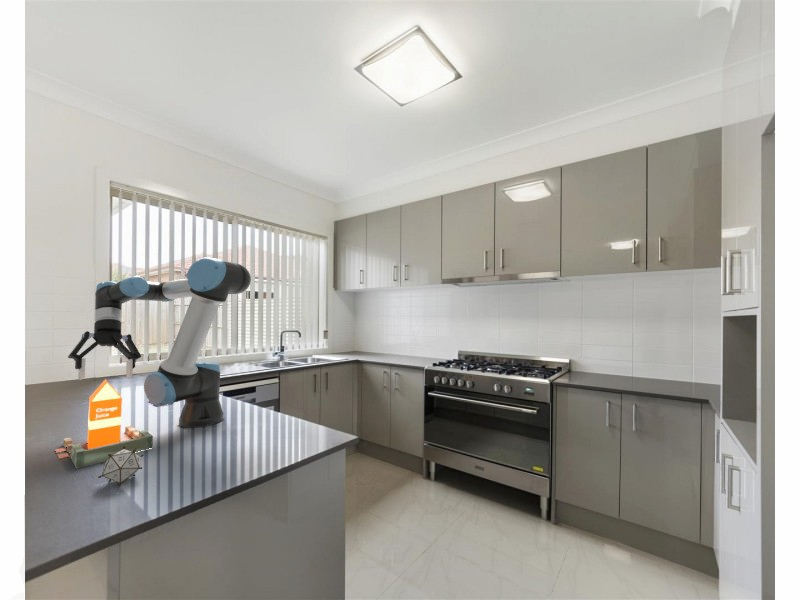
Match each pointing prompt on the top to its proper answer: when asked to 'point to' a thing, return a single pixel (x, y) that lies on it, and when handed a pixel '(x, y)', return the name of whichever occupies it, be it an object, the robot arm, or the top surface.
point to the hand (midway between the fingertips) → (106, 377)
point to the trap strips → (61, 454)
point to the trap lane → (108, 448)
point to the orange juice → (104, 416)
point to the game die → (121, 465)
